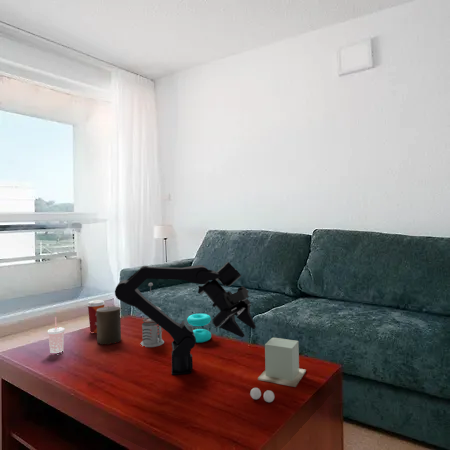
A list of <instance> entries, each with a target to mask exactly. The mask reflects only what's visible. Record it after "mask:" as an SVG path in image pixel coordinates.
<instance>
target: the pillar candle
mask: <svg viewBox="0 0 450 450" xmlns="http://www.w3.org/2000/svg"><path fill="white" fill-rule="evenodd" d="M121 321H122V320H121V307H120V306H109V305H108V306H104V307H103V308H99V309H97V334H96V341H97V344H99V343H100V345H103V344H107V345H111V344H110V343H113V344H116V343H115V342H117V343H119V342H121V340H122V330H121V329H122V328H121V326H122V325H121Z"/></svg>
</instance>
